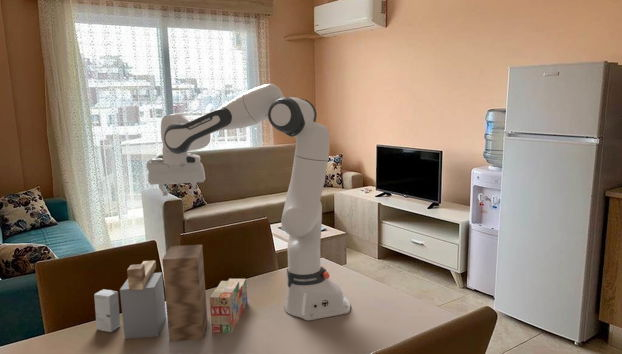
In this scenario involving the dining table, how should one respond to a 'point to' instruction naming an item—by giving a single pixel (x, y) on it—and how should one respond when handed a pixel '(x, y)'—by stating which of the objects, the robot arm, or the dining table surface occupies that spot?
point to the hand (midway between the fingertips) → (178, 195)
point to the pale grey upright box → (143, 308)
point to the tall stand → (185, 292)
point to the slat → (140, 274)
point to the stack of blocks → (227, 305)
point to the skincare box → (107, 310)
